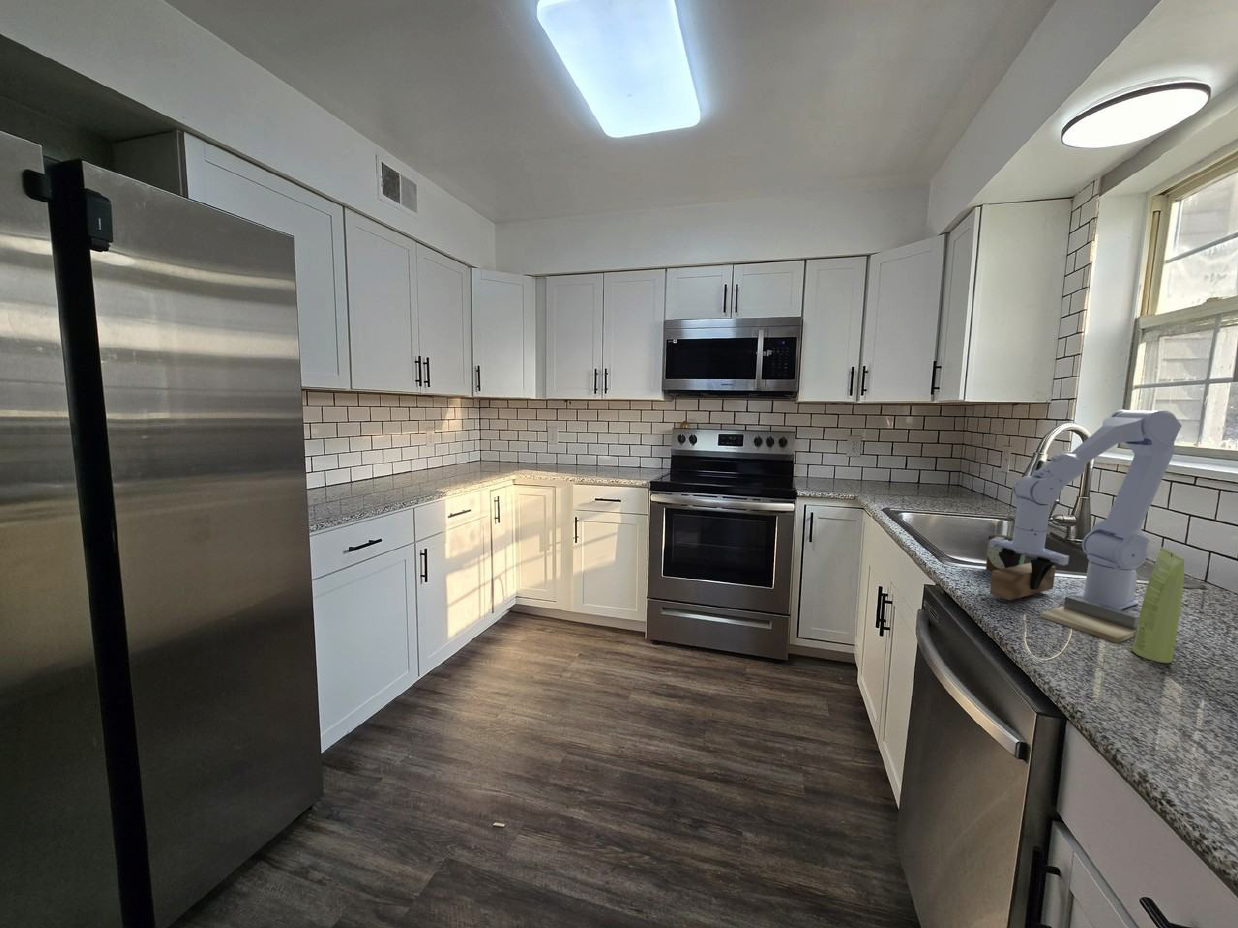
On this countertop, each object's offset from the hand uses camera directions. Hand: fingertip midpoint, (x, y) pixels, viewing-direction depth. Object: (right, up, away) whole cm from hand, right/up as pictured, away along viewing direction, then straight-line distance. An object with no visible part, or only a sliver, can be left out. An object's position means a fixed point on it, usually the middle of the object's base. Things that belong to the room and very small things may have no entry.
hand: (1022, 585), depth 113 cm
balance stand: (+6, -5, -12) cm, 14 cm away
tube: (+1, -7, -26) cm, 27 cm away
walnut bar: (0, -1, 0) cm, 2 cm away
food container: (+8, -2, +14) cm, 16 cm away
